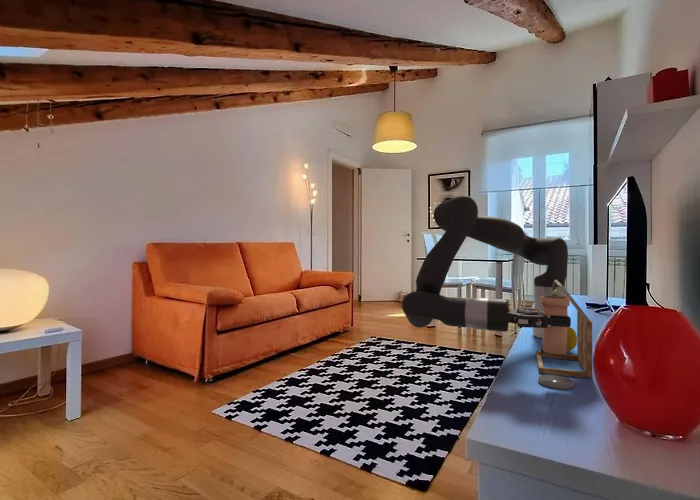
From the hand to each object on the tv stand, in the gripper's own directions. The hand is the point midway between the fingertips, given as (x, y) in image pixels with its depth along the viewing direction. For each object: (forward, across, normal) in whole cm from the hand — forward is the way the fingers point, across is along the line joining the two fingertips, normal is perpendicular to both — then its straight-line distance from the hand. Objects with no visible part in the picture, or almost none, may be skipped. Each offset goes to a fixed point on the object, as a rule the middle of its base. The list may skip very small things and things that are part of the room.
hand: (568, 319), depth 84 cm
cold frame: (0, +15, +14) cm, 21 cm away
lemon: (+2, +30, +14) cm, 33 cm away
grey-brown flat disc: (-2, 0, +14) cm, 15 cm away
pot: (-3, 0, +7) cm, 8 cm away
